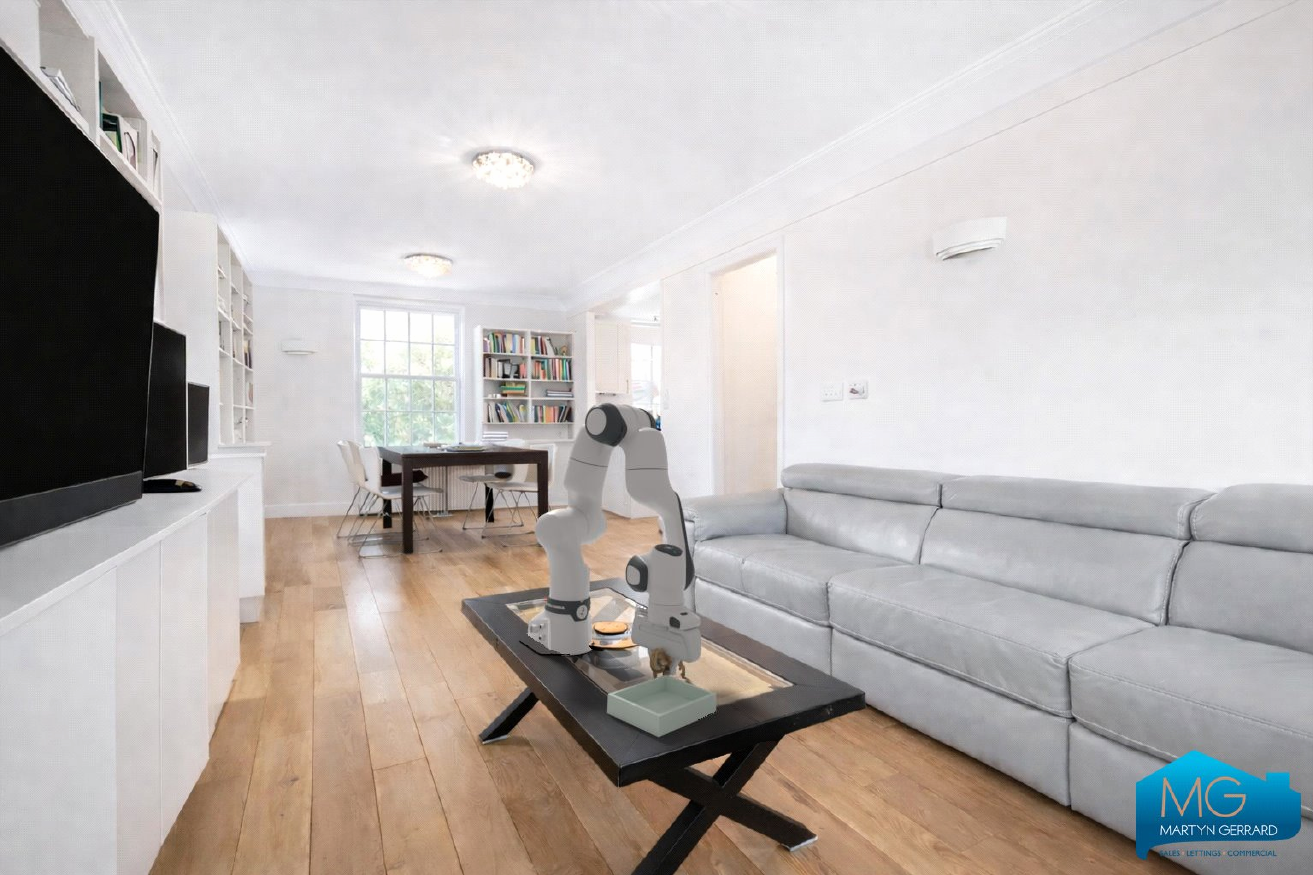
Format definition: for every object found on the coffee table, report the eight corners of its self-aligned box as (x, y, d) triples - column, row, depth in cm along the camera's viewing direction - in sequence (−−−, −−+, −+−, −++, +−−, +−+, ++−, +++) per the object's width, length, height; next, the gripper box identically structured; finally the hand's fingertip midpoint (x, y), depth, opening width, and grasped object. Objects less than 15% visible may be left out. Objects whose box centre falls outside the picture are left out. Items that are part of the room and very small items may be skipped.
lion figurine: (663, 692, 146) (665, 652, 146) (643, 687, 148) (645, 648, 149) (689, 673, 159) (690, 637, 159) (670, 669, 161) (671, 634, 162)
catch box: (606, 713, 133) (607, 693, 134) (664, 692, 146) (665, 674, 147) (658, 737, 123) (659, 716, 123) (715, 712, 136) (716, 693, 136)
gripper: (626, 606, 157) (624, 662, 157) (688, 624, 143) (685, 686, 143) (644, 602, 162) (642, 657, 162) (706, 620, 148) (703, 679, 147)
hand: (663, 671), depth 152 cm, fingers closed on lion figurine, 4 cm apart
